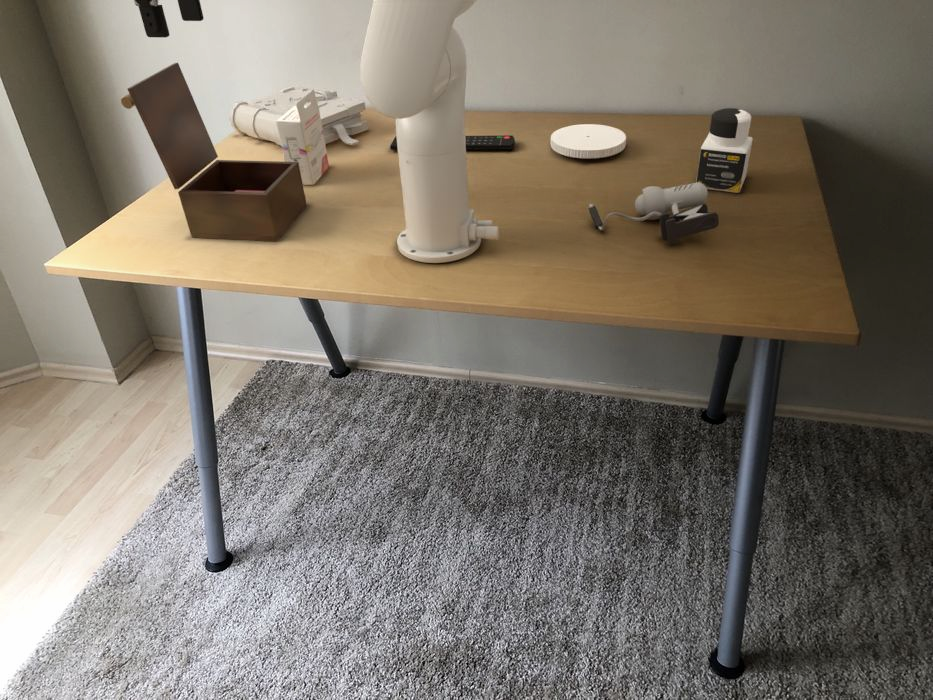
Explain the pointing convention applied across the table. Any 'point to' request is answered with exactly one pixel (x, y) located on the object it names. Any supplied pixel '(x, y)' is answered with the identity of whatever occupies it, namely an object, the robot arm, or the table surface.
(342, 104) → the book
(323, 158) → the ink cartridge box
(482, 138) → the remote control
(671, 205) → the clip-on lamp
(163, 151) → the lid
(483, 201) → the table surface
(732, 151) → the medicine bottle
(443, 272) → the table surface
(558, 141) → the plastic lid
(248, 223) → the chest
